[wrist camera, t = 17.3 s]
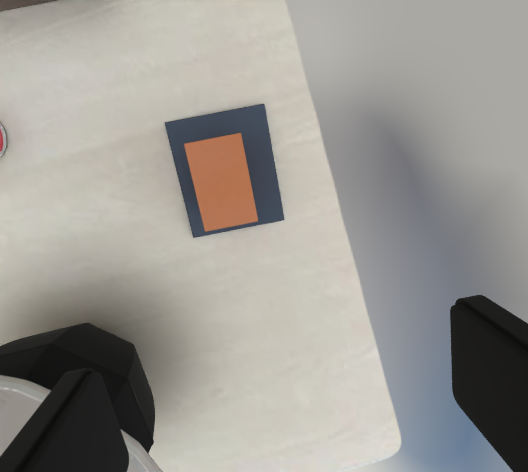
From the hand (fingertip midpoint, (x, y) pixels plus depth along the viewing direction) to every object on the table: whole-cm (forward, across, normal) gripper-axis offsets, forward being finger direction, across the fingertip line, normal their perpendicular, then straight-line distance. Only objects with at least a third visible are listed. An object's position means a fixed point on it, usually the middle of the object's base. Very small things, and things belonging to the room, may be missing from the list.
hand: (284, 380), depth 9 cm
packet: (+28, +2, -3) cm, 29 cm away
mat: (+29, +2, -3) cm, 29 cm away
